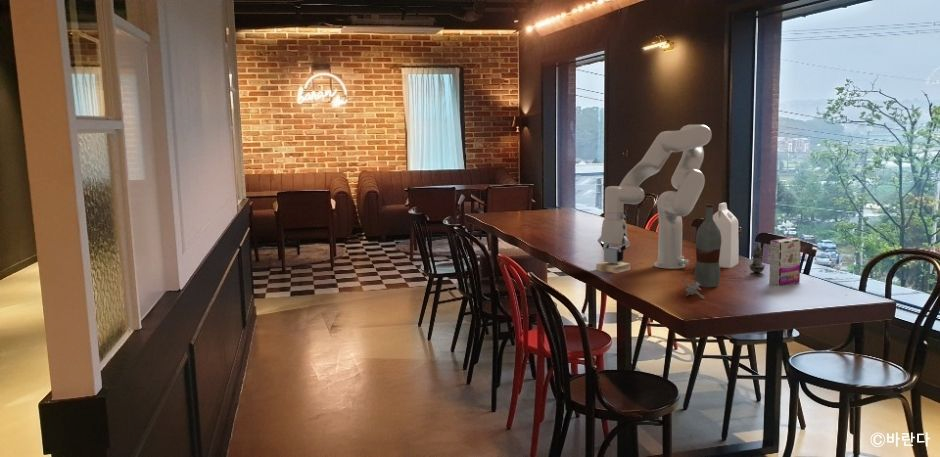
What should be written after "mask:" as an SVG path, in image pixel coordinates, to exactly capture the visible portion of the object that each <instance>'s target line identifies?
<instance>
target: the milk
mask: <svg viewBox="0 0 940 457" xmlns="http://www.w3.org/2000/svg"><path fill="white" fill-rule="evenodd" d="M713 220H714V222H715V223H716V225H717V227H718V228H719V230H720V233H721V241H722V242H721V248H720V257H719V265H720V268H727V269H731V268H733V267H735V266H736V265H738V264H739V259H740V258H739V253H740V252H739V246H740V245H739V244H740V243H739V220H738V218H737V217H736V216H735V215H734V214H733V212H731V211H730V210H729V209H728V204H727V202H721V203H719V204H718V211H716V212H715V213H713Z"/></svg>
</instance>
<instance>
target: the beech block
mask: <svg viewBox="0 0 940 457" xmlns="http://www.w3.org/2000/svg"><path fill="white" fill-rule="evenodd" d="M631 265H632V264H631V262H630V263H629V262H624V261H623V262H619V263H609V262H604V261H602V262H598V263H596V264H595V270H596V271H600V272H605V273H611V272H612V274H619V273H622V272H623V273H624V272H626V271H631Z"/></svg>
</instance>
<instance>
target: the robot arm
mask: <svg viewBox="0 0 940 457" xmlns="http://www.w3.org/2000/svg"><path fill="white" fill-rule="evenodd" d="M712 134H713V133H712V130H711V128H710V127H708V126H707V125H705V124H687V125H683V126H682V127H681V128H680V130H679V129H678V130H666V131H665V130H664V131H661V132H660V133H658V135H657V136H656V137H655V139H654V140H653V142H652V143H651V145H650V147H649V148H648V150H647V151H646V152H645V154H644V155H643V157H642V159H641V160H640V161H639V162H638V163H637V164H635V165H634V166H633V168H632V169H630V171H628V172H627V173H626V174H625V176H624V177H623V179H622V180H621V182H620V184H619V186H617V185H610V186H607V187H605V188H604V189H605V190H604V219H602V220H603V221H602V226H601V235H600V236H599V238H597V242H598V244H599V245H600V246H601V248H602V250H603V251H604V249H605V248H609V247H610V246H611V245H616V247H617V248H618V251H619V252H617V261H622V260H623V261H624V251H625V250H627V248H628V247H629V246H631V242H630V240H629V239H628V228H627V222H626V220H625V219H626V216H627V215H626V214H624V210H625V209H624V204H626V205H627V204H629V205H638V204H640V203H641V202H642V201H644V198H645V195H646V194H645V191H644V189H643V188H641V187H640V185H641V184H642V183H643V182H644V181H645V180H647V179H648V178H649V177H651V176H654V175H656V174H657V173H659V172H660V171H661V170H662V168H663V166H664V165H665V163H666V161H667V160H668V159H669V157H670V156H671V154H672V153H680V152H682V155H681V158H680V160H679V161H678V165H677V166H676V168H675V170H674V173H673V174H672V176H671V180H670V182H671V185H672V187H673V188H674V189H676V190H677V191H674V190H673V191H672V190H667V191H664V192H662V193H661V194H660V195H659V196H658V198H657V201H656V204H657V206H656V208H657V216H658V242H657V243H658V244H657V246H658V248H657V261H655V262H653V267H656V268H658V269H659V268H660V269H667V270H677V269H684V268H685V267H686V265H687V266H689V265H690V263H691V260H690V259H685V256H684V255H683V253H682V252H683V250H682V249H683V246H682V245H683V218H682V217H686V216H688V215H690V213H691V212H692V211H693V209H694V208H695V206H696V204H697V201H698V200H699V198H700V196H701V194H702V191H703V189H704V187H705V183H706V180H705V175H704V174H703V172H702V171H701V170H700V169H701V167H702V164H703V162H704V158H705V156H704V155H705V151H704V146H705V145H708V143H709V142H710V141H711V140H712Z"/></svg>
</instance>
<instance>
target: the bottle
mask: <svg viewBox="0 0 940 457" xmlns="http://www.w3.org/2000/svg"><path fill="white" fill-rule="evenodd" d="M713 215H714V204H712V203H706V204H705V218H704V220H703V221H702V223H701V224H700V225H699V227H698V228H697V231H696V233H695V239H694V240H695V256H696V258H695V259H696V262H695V265H694V266H695V268H694V275H693V276H694V284H697V283H699V284H700V285H699V286H698V287H701V288H702V287H703V288H716V287H719V285H720V281H721V280H720V279H721V267H720V265H719V257H720V248H721V242H722V241H721V233H720V230H719V228H718V227H717V225H716V223H715V222H714V220H713ZM697 281H698V282H697ZM696 282H697V283H696Z"/></svg>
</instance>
